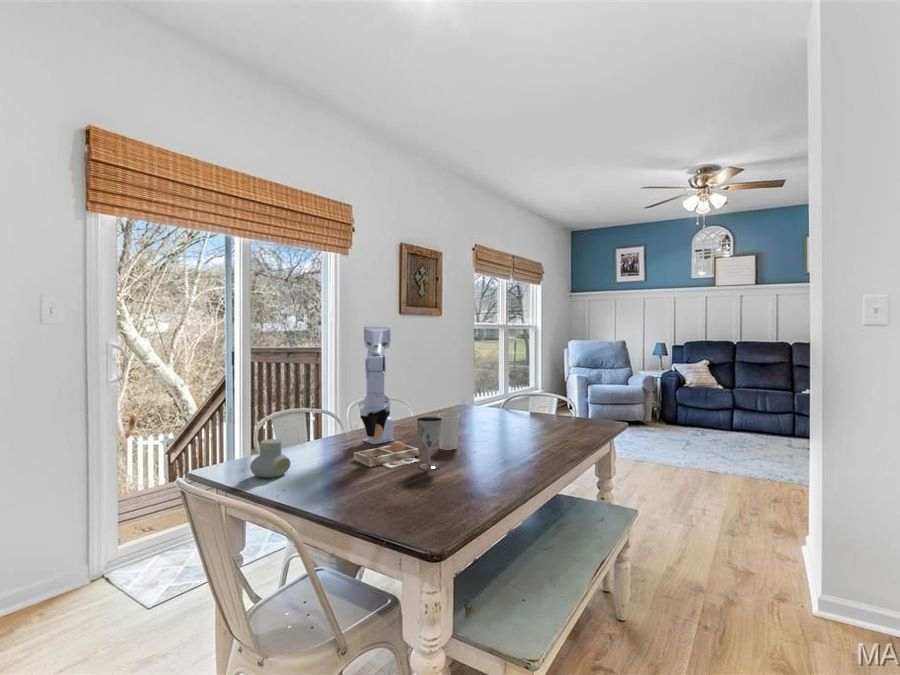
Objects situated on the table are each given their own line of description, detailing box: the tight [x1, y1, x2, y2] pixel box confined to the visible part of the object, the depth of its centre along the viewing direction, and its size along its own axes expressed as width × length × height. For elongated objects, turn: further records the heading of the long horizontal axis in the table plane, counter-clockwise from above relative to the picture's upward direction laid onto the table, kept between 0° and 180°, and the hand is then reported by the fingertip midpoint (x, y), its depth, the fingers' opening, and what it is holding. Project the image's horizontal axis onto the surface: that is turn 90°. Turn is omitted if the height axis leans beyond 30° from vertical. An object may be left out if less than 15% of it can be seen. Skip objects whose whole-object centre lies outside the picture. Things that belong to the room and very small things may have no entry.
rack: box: [353, 444, 422, 469], centre depth 155 cm, size 19×16×2 cm
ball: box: [390, 440, 406, 453], centre depth 160 cm, size 5×5×5 cm
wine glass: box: [416, 416, 442, 470], centre depth 148 cm, size 8×8×15 cm
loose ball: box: [370, 424, 383, 439], centre depth 154 cm, size 5×5×5 cm
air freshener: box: [249, 438, 291, 479], centre depth 138 cm, size 11×8×10 cm
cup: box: [436, 412, 461, 450], centre depth 171 cm, size 8×8×12 cm
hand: (375, 434), depth 154 cm, fingers closed on loose ball, 5 cm apart
